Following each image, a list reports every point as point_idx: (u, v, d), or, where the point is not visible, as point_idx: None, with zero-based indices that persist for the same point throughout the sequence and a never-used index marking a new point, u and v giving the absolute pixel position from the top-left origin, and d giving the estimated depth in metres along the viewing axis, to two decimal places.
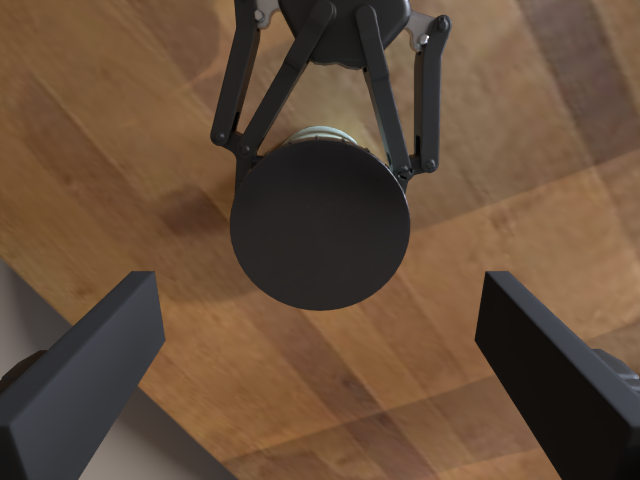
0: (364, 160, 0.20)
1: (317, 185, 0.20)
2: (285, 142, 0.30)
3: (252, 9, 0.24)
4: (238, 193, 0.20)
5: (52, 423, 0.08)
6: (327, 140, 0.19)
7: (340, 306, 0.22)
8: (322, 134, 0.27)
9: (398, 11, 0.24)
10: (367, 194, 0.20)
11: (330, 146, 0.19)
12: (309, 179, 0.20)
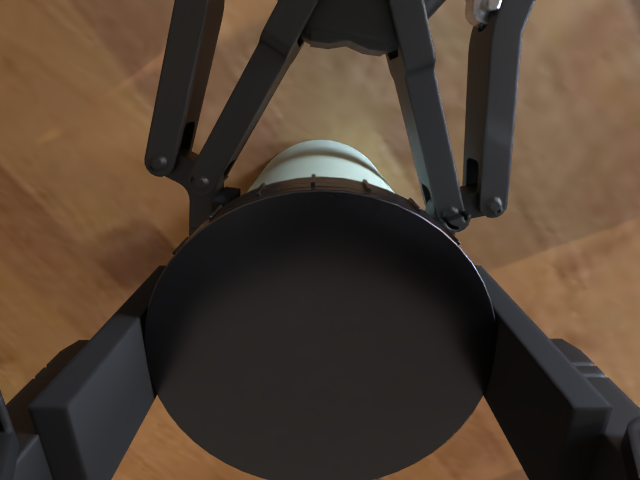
0: (412, 231, 0.09)
1: (315, 278, 0.10)
2: (268, 166, 0.20)
3: None
4: (156, 293, 0.10)
5: (101, 406, 0.09)
6: (335, 191, 0.09)
7: None
8: (324, 158, 0.17)
9: None
10: (415, 294, 0.10)
11: (342, 203, 0.09)
12: (298, 267, 0.10)
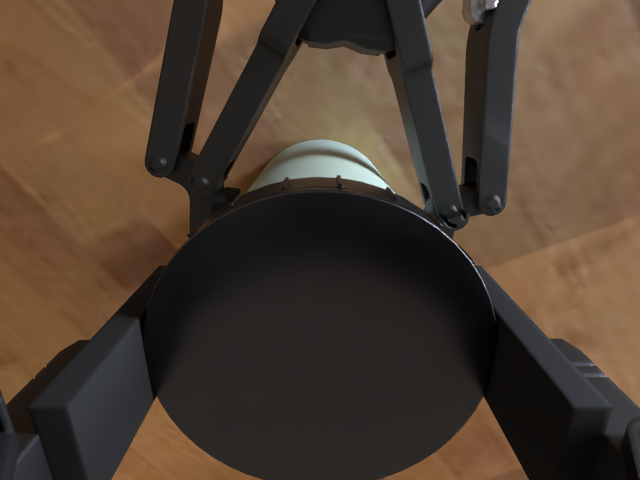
0: (159, 329, 0.10)
1: (235, 387, 0.11)
2: (267, 166, 0.20)
3: None
4: None
5: (100, 406, 0.09)
6: (156, 390, 0.11)
7: (477, 283, 0.10)
8: (323, 158, 0.17)
9: None
10: (217, 306, 0.10)
11: (162, 385, 0.11)
12: (230, 401, 0.11)
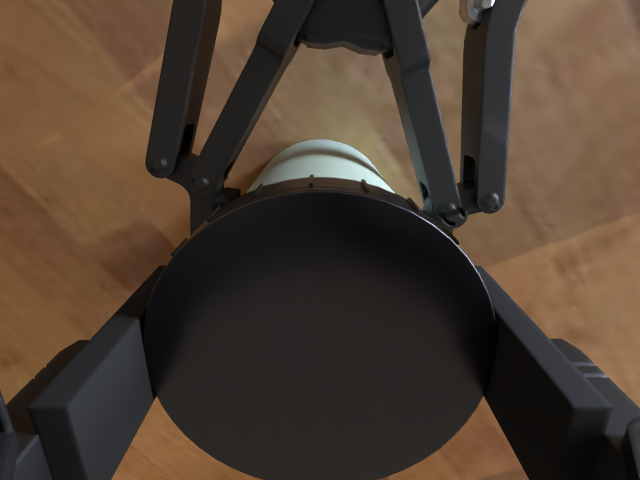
0: (326, 478, 0.12)
1: (371, 420, 0.11)
2: (267, 166, 0.20)
3: None
4: (493, 345, 0.11)
5: (100, 406, 0.09)
6: (393, 472, 0.12)
7: (180, 257, 0.10)
8: (322, 158, 0.17)
9: None
10: (289, 446, 0.12)
11: (385, 469, 0.12)
12: (388, 421, 0.11)
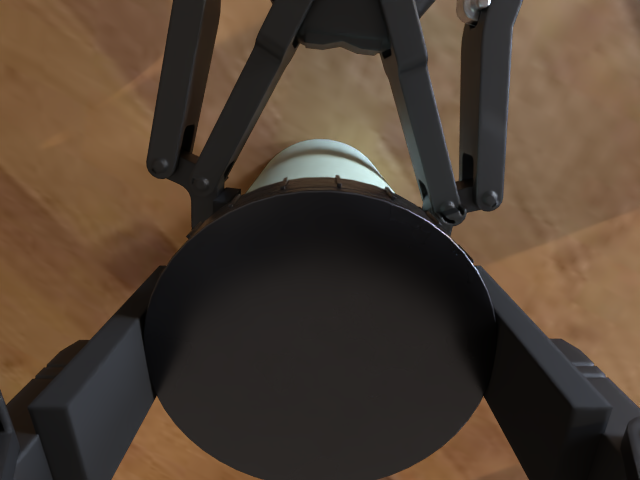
0: (478, 315, 0.10)
1: (379, 297, 0.10)
2: None
3: None
4: (242, 210, 0.09)
5: (101, 406, 0.09)
6: (456, 246, 0.10)
7: (255, 474, 0.12)
8: (321, 157, 0.17)
9: None
10: (436, 362, 0.11)
11: (452, 258, 0.10)
12: (376, 279, 0.10)
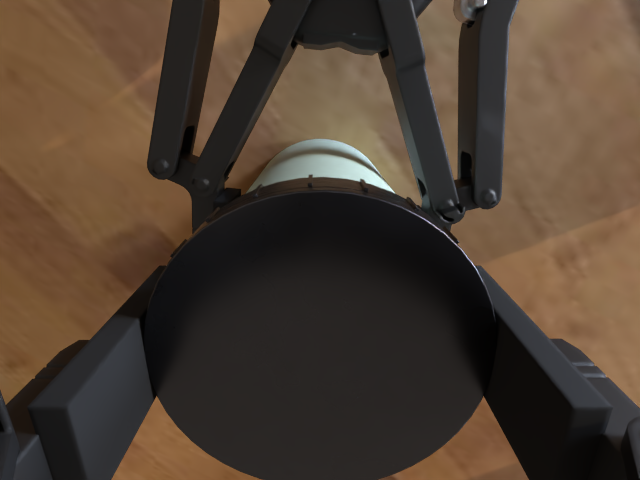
0: (214, 240, 0.10)
1: (231, 334, 0.10)
2: (267, 166, 0.21)
3: None
4: (200, 445, 0.12)
5: (100, 406, 0.09)
6: (155, 288, 0.10)
7: (484, 384, 0.11)
8: (320, 157, 0.17)
9: None
10: (284, 259, 0.10)
11: (167, 288, 0.10)
12: (215, 342, 0.10)
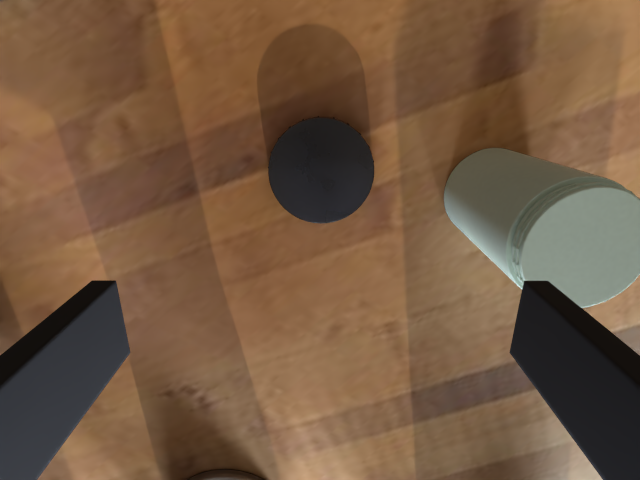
0: (291, 132, 0.34)
1: (295, 163, 0.35)
2: None
3: None
4: (282, 205, 0.37)
5: None
6: (274, 148, 0.35)
7: (371, 181, 0.36)
8: None
9: None
10: (311, 138, 0.35)
11: (277, 147, 0.35)
12: (290, 166, 0.35)
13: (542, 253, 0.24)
